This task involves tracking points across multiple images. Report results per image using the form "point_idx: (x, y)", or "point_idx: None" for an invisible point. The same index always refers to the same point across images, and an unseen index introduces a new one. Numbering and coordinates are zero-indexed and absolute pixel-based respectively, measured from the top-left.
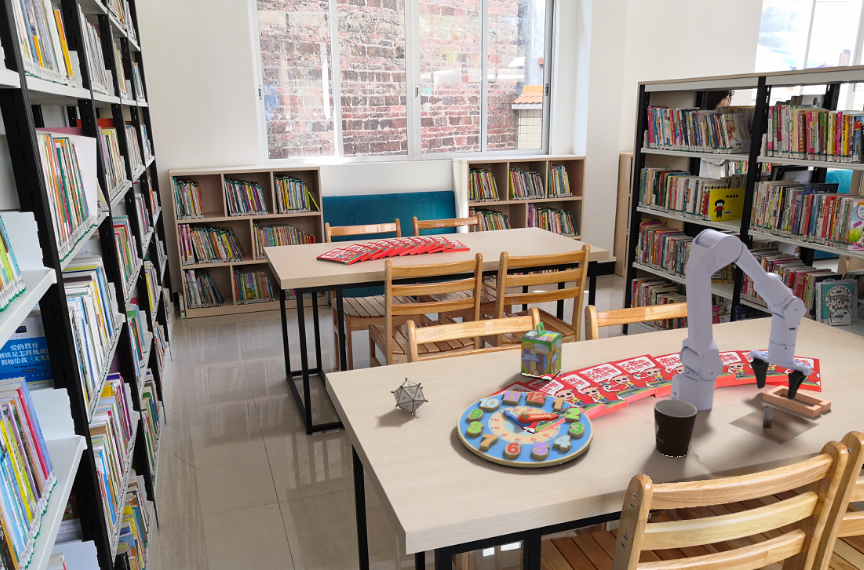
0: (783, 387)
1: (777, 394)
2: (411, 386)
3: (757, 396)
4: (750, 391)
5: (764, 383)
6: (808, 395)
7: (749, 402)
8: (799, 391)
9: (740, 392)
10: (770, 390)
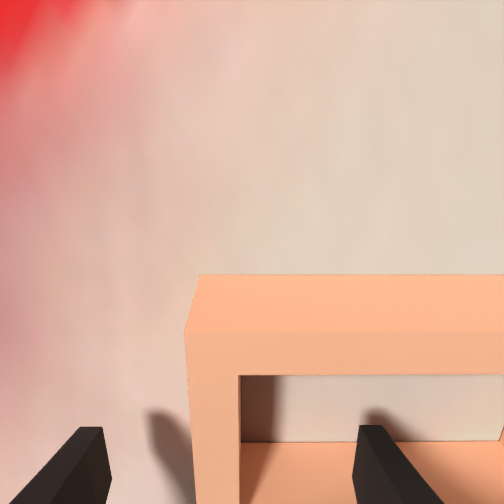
0: (231, 368)
1: (239, 421)
2: None
3: (113, 399)
4: (24, 365)
5: (86, 463)
6: (489, 361)
7: (150, 497)
8: (386, 336)
9: (8, 426)
10: (200, 494)
